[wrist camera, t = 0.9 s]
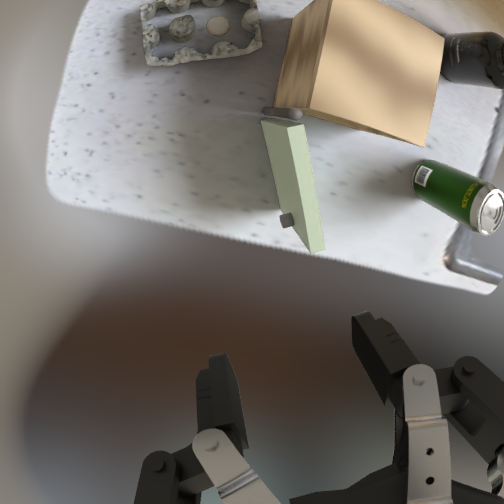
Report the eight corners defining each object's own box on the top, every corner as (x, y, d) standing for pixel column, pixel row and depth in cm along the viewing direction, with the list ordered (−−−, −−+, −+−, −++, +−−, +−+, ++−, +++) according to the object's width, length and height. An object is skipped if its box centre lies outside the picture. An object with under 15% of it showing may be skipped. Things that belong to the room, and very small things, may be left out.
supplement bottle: (425, 41, 26) (498, 35, 15) (456, 30, 25) (524, 26, 14) (445, 90, 29) (518, 101, 18) (474, 76, 28) (542, 85, 17)
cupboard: (283, 15, 24) (322, -22, 14) (378, 49, 26) (444, 38, 16) (261, 113, 28) (291, 118, 18) (359, 139, 31) (420, 159, 21)
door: (272, 117, 28) (303, 124, 19) (291, 208, 33) (325, 249, 24) (250, 122, 28) (272, 131, 19) (272, 213, 33) (298, 257, 24)
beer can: (404, 194, 34) (469, 234, 24) (415, 153, 32) (486, 181, 22) (433, 202, 36) (496, 240, 25) (444, 164, 33) (511, 194, 23)
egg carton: (252, -6, 22) (259, -20, 19) (258, 59, 26) (267, 53, 22) (143, 7, 21) (136, -6, 18) (148, 73, 25) (141, 68, 21)
